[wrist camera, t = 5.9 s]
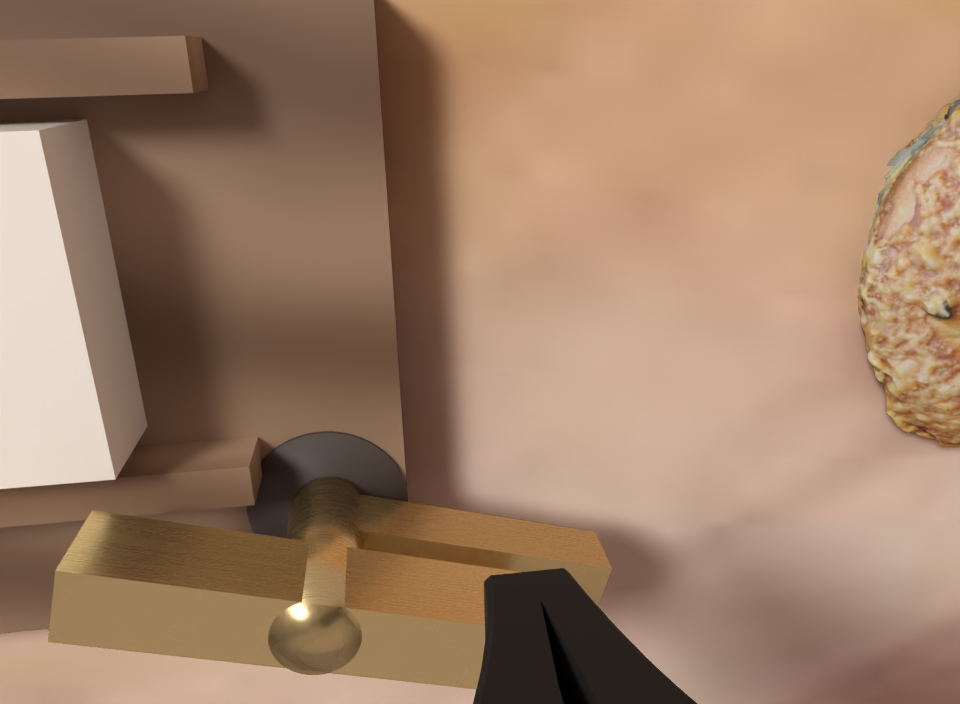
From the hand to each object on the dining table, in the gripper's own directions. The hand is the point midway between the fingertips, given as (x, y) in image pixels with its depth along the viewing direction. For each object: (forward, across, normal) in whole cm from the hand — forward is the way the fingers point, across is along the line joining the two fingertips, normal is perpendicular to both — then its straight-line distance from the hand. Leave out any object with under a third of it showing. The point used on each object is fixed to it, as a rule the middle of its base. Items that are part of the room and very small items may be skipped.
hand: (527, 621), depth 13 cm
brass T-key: (+7, +3, +2) cm, 8 cm away
